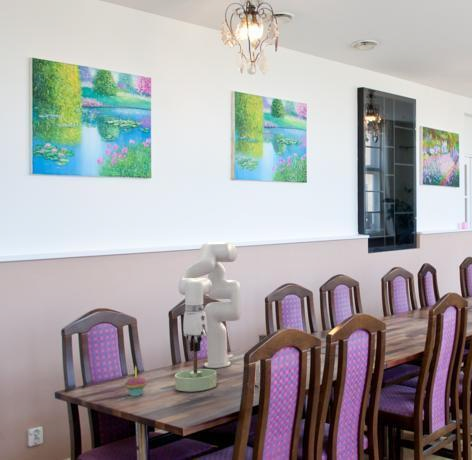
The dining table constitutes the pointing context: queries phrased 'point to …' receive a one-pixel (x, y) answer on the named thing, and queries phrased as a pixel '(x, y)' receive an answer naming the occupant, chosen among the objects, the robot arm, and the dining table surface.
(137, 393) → the cupcake
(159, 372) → the dining table surface
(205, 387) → the bowl
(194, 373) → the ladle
